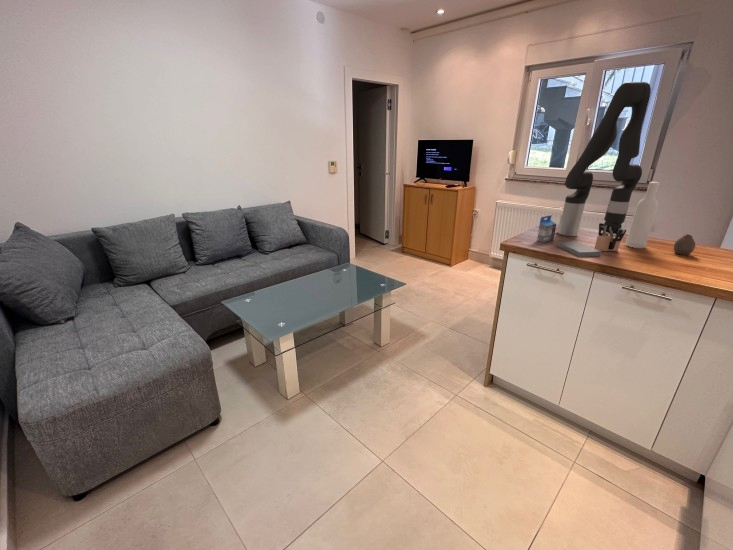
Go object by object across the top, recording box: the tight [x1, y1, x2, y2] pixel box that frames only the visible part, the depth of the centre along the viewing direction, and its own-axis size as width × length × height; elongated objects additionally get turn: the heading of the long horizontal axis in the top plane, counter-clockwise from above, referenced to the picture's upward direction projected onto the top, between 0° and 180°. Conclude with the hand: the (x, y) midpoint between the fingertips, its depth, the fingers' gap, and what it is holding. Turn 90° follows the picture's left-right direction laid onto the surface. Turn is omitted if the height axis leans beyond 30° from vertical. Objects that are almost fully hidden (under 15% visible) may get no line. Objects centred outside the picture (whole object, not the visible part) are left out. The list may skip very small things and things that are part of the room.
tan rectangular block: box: [594, 235, 621, 252], centre depth 155 cm, size 4×8×6 cm, turn 95°
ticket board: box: [556, 240, 602, 257], centre depth 155 cm, size 16×10×2 cm, turn 5°
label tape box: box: [536, 214, 557, 243], centre depth 169 cm, size 9×4×12 cm, turn 120°
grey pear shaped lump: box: [673, 234, 696, 256], centre depth 148 cm, size 7×7×9 cm
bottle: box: [624, 181, 661, 249], centre depth 155 cm, size 8×8×30 cm
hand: (606, 247), depth 156 cm, fingers closed on tan rectangular block, 4 cm apart
